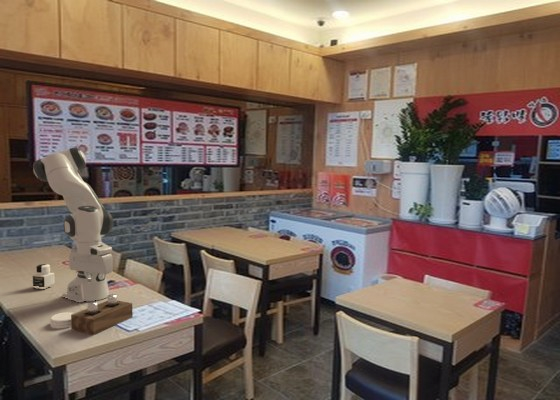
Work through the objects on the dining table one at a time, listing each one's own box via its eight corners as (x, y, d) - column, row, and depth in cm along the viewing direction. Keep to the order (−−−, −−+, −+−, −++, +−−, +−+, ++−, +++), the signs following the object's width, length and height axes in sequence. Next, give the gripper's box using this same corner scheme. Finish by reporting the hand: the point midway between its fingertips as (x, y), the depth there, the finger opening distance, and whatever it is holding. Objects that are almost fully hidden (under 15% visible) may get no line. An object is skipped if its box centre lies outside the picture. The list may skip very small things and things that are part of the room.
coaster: (82, 319, 172) (82, 311, 172) (71, 329, 162) (70, 320, 162) (58, 319, 172) (57, 311, 172) (45, 329, 162) (44, 320, 162)
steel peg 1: (85, 316, 162) (85, 303, 162) (93, 313, 165) (92, 300, 165) (92, 317, 161) (92, 305, 160) (99, 314, 164) (99, 302, 163)
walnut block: (71, 329, 161) (71, 314, 161) (111, 312, 180) (110, 299, 179) (94, 334, 156) (93, 319, 156) (132, 317, 175) (132, 303, 174)
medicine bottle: (32, 289, 212) (31, 266, 210) (43, 285, 218) (42, 262, 217) (44, 290, 210) (43, 267, 209) (55, 286, 217) (54, 263, 216)
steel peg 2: (105, 307, 171) (105, 296, 171) (112, 305, 174) (112, 293, 174) (112, 309, 170) (112, 297, 169) (119, 306, 173) (118, 294, 173)
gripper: (63, 247, 162) (65, 281, 163) (102, 251, 153) (103, 287, 155) (77, 244, 167) (79, 277, 169) (115, 248, 159) (116, 283, 160)
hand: (91, 282), depth 162 cm, fingers closed
